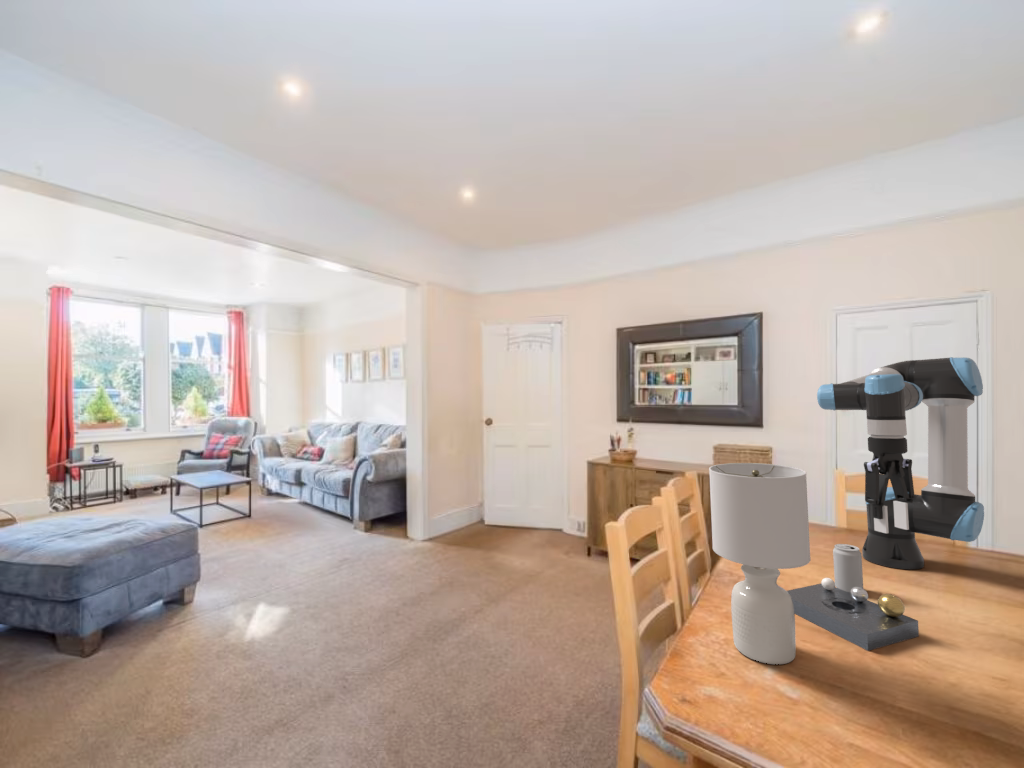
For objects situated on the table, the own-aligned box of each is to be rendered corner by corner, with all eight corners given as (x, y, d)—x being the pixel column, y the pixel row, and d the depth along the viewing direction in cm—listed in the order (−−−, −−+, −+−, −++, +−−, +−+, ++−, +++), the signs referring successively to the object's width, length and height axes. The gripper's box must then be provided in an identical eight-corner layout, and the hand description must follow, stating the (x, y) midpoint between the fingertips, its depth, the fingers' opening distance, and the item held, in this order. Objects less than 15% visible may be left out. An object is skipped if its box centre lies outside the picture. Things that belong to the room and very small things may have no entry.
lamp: (703, 628, 108) (696, 464, 109) (783, 627, 108) (775, 462, 108) (740, 677, 89) (731, 479, 90) (837, 676, 89) (827, 476, 90)
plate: (824, 595, 123) (824, 582, 123) (918, 636, 102) (918, 620, 102) (779, 605, 118) (778, 592, 118) (868, 650, 97) (867, 634, 97)
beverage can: (868, 596, 122) (866, 551, 122) (842, 594, 123) (839, 550, 123) (855, 586, 128) (853, 543, 128) (830, 584, 129) (828, 542, 129)
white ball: (827, 586, 120) (826, 575, 120) (838, 591, 117) (837, 579, 118) (818, 588, 119) (818, 576, 119) (829, 592, 117) (829, 581, 117)
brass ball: (887, 609, 107) (886, 589, 107) (910, 618, 103) (909, 597, 103) (873, 613, 106) (872, 592, 106) (895, 622, 101) (894, 601, 101)
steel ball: (857, 597, 114) (856, 583, 114) (872, 603, 110) (871, 589, 110) (847, 599, 113) (846, 585, 113) (861, 605, 109) (861, 591, 109)
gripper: (897, 433, 118) (901, 521, 118) (842, 437, 113) (847, 530, 112) (931, 435, 111) (936, 529, 111) (875, 440, 105) (880, 539, 105)
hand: (891, 529), depth 111 cm, fingers open, 6 cm apart
